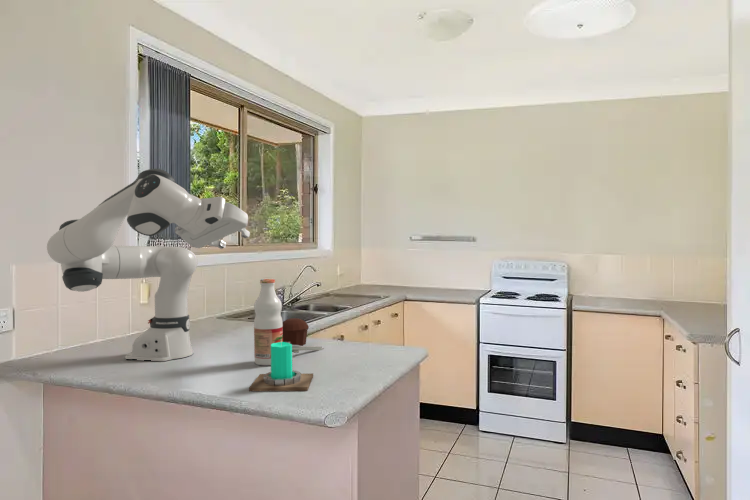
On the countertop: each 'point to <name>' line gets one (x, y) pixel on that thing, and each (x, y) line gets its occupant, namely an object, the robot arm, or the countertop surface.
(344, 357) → the countertop surface
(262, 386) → the ring board
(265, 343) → the fruit juice
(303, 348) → the caliper
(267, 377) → the ring collar
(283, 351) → the candle
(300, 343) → the muffin
